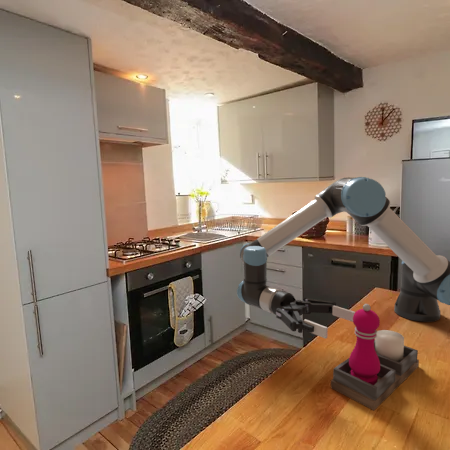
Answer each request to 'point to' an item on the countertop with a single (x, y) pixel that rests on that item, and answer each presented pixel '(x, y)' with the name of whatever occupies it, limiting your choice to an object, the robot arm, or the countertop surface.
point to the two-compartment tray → (386, 384)
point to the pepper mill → (365, 346)
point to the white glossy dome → (390, 345)
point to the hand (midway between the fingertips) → (341, 324)
